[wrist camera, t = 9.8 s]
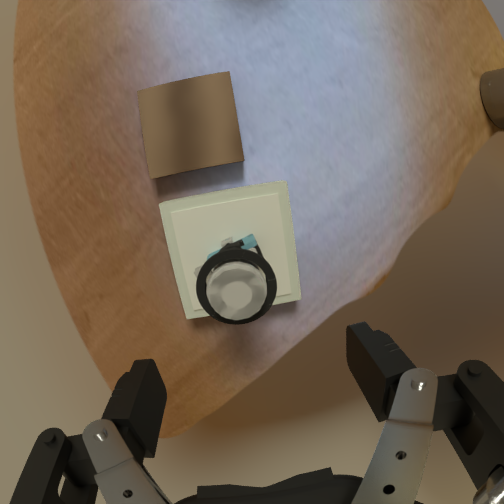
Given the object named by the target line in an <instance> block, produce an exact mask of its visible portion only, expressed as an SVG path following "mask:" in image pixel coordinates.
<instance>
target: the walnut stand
mask: <svg viewBox="0 0 504 504" xmlns="http://www.w3.org/2000/svg"><path fill="white" fill-rule="evenodd" d="M137 94H138V102H139V111H140V118H141V125H142V132H143V139H144V146H145V152H146V158H147V164H148V170H149V175H150V179H154V178H159V177H164V176H168V175H173V174H177V173H182V172H187V171H192V170H197V169H202V168H207V167H212V166H218V165H223V164H229V163H235V162H241V161H244V155H243V149H242V143H241V137H240V131H239V125H238V119H237V113H236V107H235V101H234V95H233V89H232V83H231V77H230V72H229V71H228V72H221V73H215V74H209V75H204V76H198V77H193V78H188V79H184V80H179V81H175V82H170V83H166V84H162V85H158V86H154V87H150V88H147V89H143V90H140V91H137Z"/></svg>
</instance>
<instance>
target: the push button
mask: <svg viewBox="0 0 504 504" xmlns="http://www.w3.org/2000/svg"><path fill="white" fill-rule="evenodd" d="M226 240H227V241H226ZM221 246H222V248H221V249H219V250H217V251H215V252H212V253H210V254H209V255H208V256H207V260H206V262H204V264H203V265H201V266H199V267H197V268H195V271H194V274H195V276H196V278H197V281H196V294H197V298H198V300H199V303H200V305H201V306H202V308H203V309H204V310H205V311H206V312H207V313H208V314H209V315H210V316H211V317H213V318H214V319H216V320H218V321H221V322H223V323H227V324H245V323H249V322H252V321H254V320H256V319H258V318H260V317H261V316H263V315H264V314H265V313H266V312H267V311H268V310H269V309H270V307H271V306H272V304H273V302H274V300H275V297H276V293H277V280H276V276H275V273H274V271H273V269H272V267H271V266H270V264H269V263H268V262H267V261H266V260H265V259H264V257H263V254H262V252H261V250H260V248H259V246H258V244H257V241H256V239H255V237H254V235H253V234H250V235H248V236H246V237H244V238H242V239H240V240H238V241H236V242H234V243H233V240H232V237H229V238H227V239H225V240H223V241H221ZM258 266H259V267H260V268H261V269H262V271H263V272H264V274H265V277H266V280H265V278H264V277H263V275H262V273H261V272H260V271H259V267H258ZM209 275H211V276H210V278H209V279H208V282H207V283H206V279H207V276H209Z"/></svg>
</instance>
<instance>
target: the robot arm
mask: <svg viewBox="0 0 504 504" xmlns="http://www.w3.org/2000/svg"><path fill="white" fill-rule="evenodd" d="M480 91H481V97H482V101H483V104H484V107H485V109H486V111H487V113H488V115H489V117H490V118H491V120H492V121H493V122H494V124H495V125H496V126H498V127H499V128H501V129H504V68H501V69H497V70H492V71H488V72H485V73H484V74H483V75H482V78H481V82H480ZM346 351H347V353H346V357H347V363H348V366H349V369H350V371H351V373H352V374H353V376H354V378H355V380H356V382H357V383H358V385H359V387H360V389H361V391H362V392H363V394H364V396H365V398H366V400H367V402H368V403H369V405H370V407H371V409H372V411H373V412H374V414H375V416H376V418H377V420H378V422H381V421H384V420H386V423H385V426H384V428H383V431H382V434H381V437H380V439H379V442H378V445H377V447H376V450H375V453H374V455H373V458H372V460H371V462H370V465H369V467H368V469H367V472H366V474H365V476H364V478H362V477H357V476H352V475H333V473H332V470H331V467H329V468H325V469H321V470H317V471H313V472H309V473H304V474H299V475H296V476H294V477H291V478H289V479H286V480H284V481H281V482H278V483H276V484H273V485H270V486H267V487H249V486H239V485H230V484H229V485H212V486H198V487H197V494H196V495H193V496H190V497H187V498H184V499H182V500H180V501H178V502H176V503H175V504H423V503H420V502H418V501H415V498H416V495H417V492H418V488H419V485H420V482H421V479H422V475H423V472H424V468H425V464H426V460H427V456H428V452H429V447H430V442H431V438H432V433H433V431H438V430H443V431H444V432H445V434H446V436H447V437H448V439H449V441H450V442H451V444H452V446H453V447H454V449H455V451H456V453H457V454H458V456H459V458H460V459H461V461H462V463H463V465H464V466H465V468H466V470H467V472H468V474H469V475H470V477H471V479H472V481H473V483H474V485H475V487H476V488H477V490H478V491H477V492H476V494H475V496H474V498H473V504H504V382H503V381H502V380H501V379H500V378H499V377H498V376H497V375H496V374H495V373H494V372H493V370H492V369H491V368H490V367H489V366H488V365H487V364H485V363H484V362H482V361H479V360H468V361H465V362H463V363H462V364H461V365H460V366H459V368H458V370H457V374H452V375H446V376H439V377H437V376H436V375H435V374H434V373H433V372H432V371H430V370H428V369H424V368H417V367H416V366H415V365H414V364H413V363H412V361H411V360H410V359H409V358H408V357H407V356H406V355H405V353H404V352H403V351H402V350H401V349H400V348H399V346H398V345H397V344H396V343H395V342H394V341H393V339H392V338H391V337H390V336H389V335H388V334H386V333H384V332H382V331H380V330H376V331H373V330H372V329H371V328H370V327H369V325H368V324H367V323H366V322H360V323H356V324H353V325H349V326H347V329H346ZM166 400H167V392H166V388H165V385H164V383H163V380H162V378H161V376H160V373H159V371H158V368H157V366H156V364H155V362H154V360H153V359H143V360H135V361H134V363H133V365H132V367H131V370H130V372H126V373H125V374H124V375H123V376H122V377H121V378H120V379H119V380H118V382H117V384H116V386H115V390H113V393H112V397H111V398H110V400H109V402H108V404H107V406H106V409H105V411H104V413H103V416H102V418H101V419H100V420H96V421H93V422H91V423H90V424H89V425H88V426H87V427H86V428H85V429H84V431H83V434H80V435H74V436H68V437H67V436H66V435H65V434H64V433H63V431H62V430H61V429H59V428H49V429H47V430H45V431H43V432H42V433H41V434H40V435H39V436H38V438H37V440H36V442H35V444H34V446H33V449H32V451H31V453H30V455H29V457H28V460H27V462H26V464H25V467H24V469H23V471H22V474H21V476H20V478H19V481H18V483H17V486H16V488H15V491H14V493H13V496H12V499H11V501H10V504H95V501H96V496H97V492H98V487H99V489H100V491H101V493H102V495H103V496H104V499H105V501H106V503H107V504H172V502H171V501H170V500H169V499H168V498H167V497H166V495H165V494H164V493H163V491H162V490H161V489H160V487H159V486H158V485H157V483H156V482H155V480H154V479H153V478H152V476H151V475H150V473H149V472H148V471H147V469H146V468H145V466H144V465H143V460H144V458H154V457H155V452H156V447H157V442H158V437H159V432H160V428H161V423H162V418H163V414H164V409H165V405H166ZM62 475H63V476H64V477H65V481H64V484H63V488H62V491H61V494H60V497H59V495H58V486H59V483H60V480H61V477H62Z"/></svg>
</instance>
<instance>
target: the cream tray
mask: <svg viewBox="0 0 504 504" xmlns="http://www.w3.org/2000/svg"><path fill="white" fill-rule="evenodd" d="M159 208H160V212H161V217H162V222H163V227H164V231H165V236H166V240H167V244H168V249H169V253H170V257H171V261H172V265H173V269H174V273H175V277H176V281H177V285H178V289H179V293H180V297H181V300H182V304H183V308H184V311H185V315H186V318H187V319H192V318H198V317H205V316H210V315H209V314H208V313H207V312H206V311H205V310H204V309H203V308H202V306H201V305H200V303H199V300H198V298H197V294H196V281H197V278H196V276H195V274H194V271H195V268H197V267H199V266H201V265H203V264H204V262H206V260H207V256H208V255H209V254H210V253H212V252H215V251H217V250H219V249H221V248H222V246H221V241H223V240H225V239H227V238H229V237H232V240H233V243H234V242H236V241H238V240H240V239H242V238H244V237H246V236H248V235H250V234H253V235H254V237H255V239H256V241H257V244H258V246H259V248H260V250H261V252H262V254H263V257H264V259H265V260H266V261H267V262H268V263H269V264H270V266H271V267H272V269H273V271H274V273H275V276H276V280H277V293H276V297H275V300H274V302H273V304H272V305H275V304H281V303H286V302H291V301H296V300H301V291H300V282H299V273H298V264H297V255H296V247H295V239H294V231H293V223H292V216H291V208H290V201H289V194H288V187H287V181H283V180H281V181H274V182H268V183H261V184H255V185H249V186H243V187H237V188H231V189H225V190H220V191H214V192H209V193H203V194H198V195H193V196H188V197H183V198H178V199H173V200H169V201H164V202H162V203H160V204H159ZM226 241H227V240H226ZM258 267H259V266H258ZM259 271H260V272H261V273H262V275H263V277H264V278H265V280H266V277H265V274H264V272H263V271H262V269H261V268H260V267H259ZM210 276H211V275H209V276H207V279H206V283H207V282H208V279H209V278H210Z"/></svg>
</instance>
